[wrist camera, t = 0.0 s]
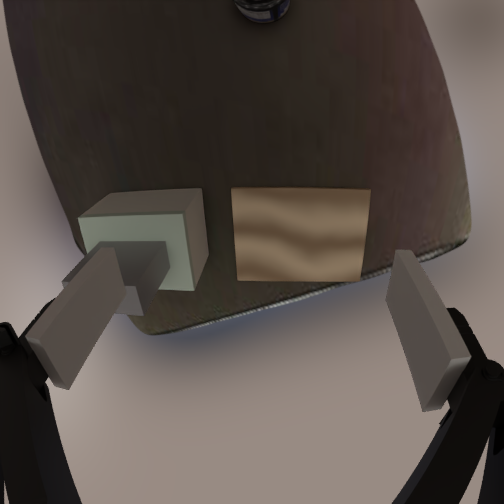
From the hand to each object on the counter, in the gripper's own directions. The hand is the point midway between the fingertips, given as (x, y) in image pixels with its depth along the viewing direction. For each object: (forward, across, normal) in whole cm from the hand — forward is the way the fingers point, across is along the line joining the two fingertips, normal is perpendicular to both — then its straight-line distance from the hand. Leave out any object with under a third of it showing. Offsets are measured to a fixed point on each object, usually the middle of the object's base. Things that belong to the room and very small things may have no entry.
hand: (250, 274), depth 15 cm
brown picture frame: (+28, +4, -12) cm, 31 cm away
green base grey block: (+20, -16, -10) cm, 28 cm away
